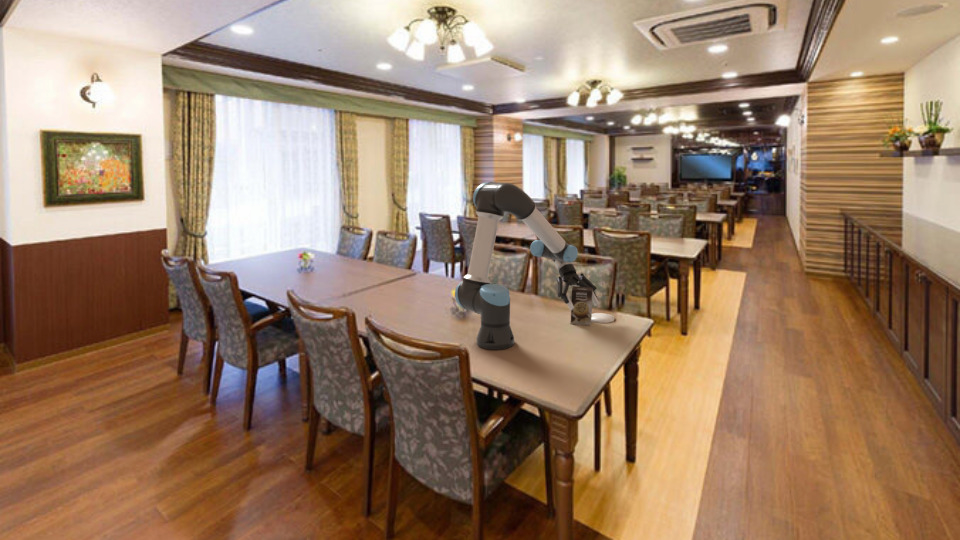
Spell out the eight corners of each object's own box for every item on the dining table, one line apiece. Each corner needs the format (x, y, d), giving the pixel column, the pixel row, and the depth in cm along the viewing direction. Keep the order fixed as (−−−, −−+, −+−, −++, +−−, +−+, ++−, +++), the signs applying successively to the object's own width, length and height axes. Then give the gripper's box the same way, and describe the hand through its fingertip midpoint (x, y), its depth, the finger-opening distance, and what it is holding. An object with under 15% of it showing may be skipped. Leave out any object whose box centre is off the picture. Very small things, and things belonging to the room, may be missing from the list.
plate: (599, 324, 218) (599, 322, 218) (582, 317, 228) (582, 315, 228) (620, 320, 223) (620, 318, 223) (602, 313, 233) (602, 311, 233)
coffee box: (570, 324, 219) (571, 289, 215) (571, 319, 225) (572, 285, 221) (591, 325, 216) (592, 290, 213) (591, 321, 222) (593, 286, 219)
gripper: (583, 268, 236) (602, 306, 226) (539, 275, 225) (557, 315, 216) (590, 260, 230) (610, 298, 220) (546, 266, 220) (565, 306, 210)
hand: (584, 306), depth 218 cm, fingers open, 13 cm apart
